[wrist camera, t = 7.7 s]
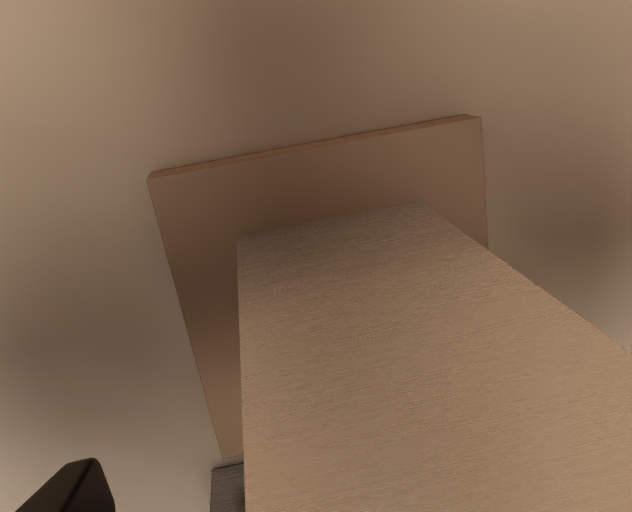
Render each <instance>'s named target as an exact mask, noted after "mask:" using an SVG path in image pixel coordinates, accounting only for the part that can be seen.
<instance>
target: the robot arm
mask: <svg viewBox="0 0 632 512" xmlns="http://www.w3.org/2000/svg"><path fill="white" fill-rule="evenodd" d="M15 512H116V511H115V503H114V499H113V496H112V494H111V491H110V488H109V486H108V483H107V480H106V478H105V475H104V472H103V470H102V467H101V465H100V463H99V461H98V460H97V459H95V458H87V459H83V460H78V461H74V462H70V463H67V464H66V465H64V466H63V467H62V468H61V469H60V470H59V471H58V472H57V473H56V474H55V475H54V476H52V477H51V478H50V479H49V480H48V481H47V482H46V483H45V484H44V485H43V486H42V487H41V488H40V489H39V490H38V491H37V492H35V493H34V494H33V495H32V496H31V497H30V498H29V499H28V500H27V501H26V502H25V503H24V504H23V505H22V506H21V507H20V508H18V509H17V510H16V511H15Z"/></svg>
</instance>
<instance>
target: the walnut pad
mask: <svg viewBox="0 0 632 512" xmlns="http://www.w3.org/2000/svg"><path fill="white" fill-rule="evenodd" d="M146 181H147V185H148V188H149V192H150V196H151V199H152V203H153V207H154V210H155V214H156V217H157V221H158V225H159V228H160V232H161V236H162V239H163V243H164V247H165V250H166V254H167V258H168V261H169V265H170V268H171V272H172V276H173V279H174V283H175V287H176V290H177V294H178V298H179V301H180V305H181V309H182V312H183V316H184V320H185V323H186V327H187V330H188V334H189V338H190V341H191V345H192V349H193V352H194V356H195V360H196V363H197V367H198V371H199V374H200V378H201V381H202V385H203V389H204V392H205V396H206V400H207V403H208V407H209V411H210V414H211V418H212V422H213V425H214V429H215V433H216V436H217V440H218V443H219V447H220V451H221V454H222V458H223V459H226V458H231V457H235V456H239V455H243V454H244V452H243V422H242V392H241V362H240V332H239V302H238V271H237V241H236V238H237V237H242V236H247V235H252V234H257V233H262V232H267V231H271V230H276V229H281V228H286V227H291V226H296V225H301V224H305V223H310V222H315V221H320V220H325V219H330V218H335V217H340V216H344V215H349V214H354V213H359V212H364V211H369V210H374V209H379V208H383V207H388V206H393V205H398V204H403V203H408V202H413V201H418V200H419V201H420V202H421V203H423V204H424V205H426V206H427V207H428V208H430V209H431V210H433V211H434V212H435V213H437V214H438V215H440V216H441V217H442V218H444V219H445V220H447V221H448V222H449V223H451V224H452V225H454V226H455V227H456V228H458V229H459V230H461V231H462V232H463V233H465V234H466V235H468V236H469V237H470V238H472V239H473V240H475V241H476V242H477V243H479V244H480V245H482V246H483V247H484V248H486V249H487V250H488V242H487V222H486V203H485V184H484V164H483V145H482V125H481V117H477V116H472V115H467V114H464V115H459V116H453V117H448V118H442V119H437V120H432V121H426V122H421V123H415V124H410V125H405V126H399V127H394V128H388V129H383V130H378V131H372V132H367V133H361V134H356V135H351V136H345V137H340V138H335V139H329V140H324V141H318V142H313V143H308V144H302V145H297V146H291V147H286V148H281V149H275V150H270V151H264V152H259V153H254V154H248V155H243V156H237V157H232V158H227V159H221V160H216V161H210V162H205V163H200V164H194V165H189V166H183V167H178V168H173V169H167V170H162V171H156V172H152V173H151V174H150V175H149V177H148V178H147V179H146Z"/></svg>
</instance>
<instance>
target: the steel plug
mask: <svg viewBox="0 0 632 512" xmlns="http://www.w3.org/2000/svg"><path fill="white" fill-rule="evenodd" d="M236 241H237V271H238V302H239V332H240V362H241V392H242V422H243V452H244V482H245V512H632V353H631V352H630V351H628V350H627V349H626V348H624V347H623V346H621V345H620V344H619V343H617V342H616V341H614V340H613V339H612V338H610V337H609V336H607V335H606V334H605V333H603V332H602V331H600V330H599V329H598V328H596V327H595V326H593V325H592V324H591V323H589V322H588V321H586V320H585V319H584V318H582V317H581V316H579V315H578V314H577V313H575V312H574V311H572V310H571V309H570V308H568V307H567V306H565V305H564V304H563V303H561V302H560V301H558V300H557V299H556V298H554V297H553V296H551V295H550V294H549V293H547V292H546V291H544V290H543V289H542V288H540V287H539V286H537V285H536V284H535V283H533V282H532V281H530V280H529V279H528V278H526V277H525V276H523V275H522V274H521V273H519V272H518V271H516V270H515V269H514V268H512V267H511V266H510V265H508V264H507V263H505V262H504V261H503V260H501V259H500V258H498V257H497V256H496V255H494V254H493V253H491V252H490V251H489V250H487V249H486V248H484V247H483V246H482V245H480V244H479V243H477V242H476V241H475V240H473V239H472V238H470V237H469V236H468V235H466V234H465V233H463V232H462V231H461V230H459V229H458V228H456V227H455V226H454V225H452V224H451V223H449V222H448V221H447V220H445V219H444V218H442V217H441V216H440V215H438V214H437V213H435V212H434V211H433V210H431V209H430V208H428V207H427V206H426V205H424V204H423V203H421V202H420V201H419V200H418V201H413V202H408V203H403V204H398V205H393V206H388V207H383V208H379V209H374V210H369V211H364V212H359V213H354V214H349V215H344V216H340V217H335V218H330V219H325V220H320V221H315V222H310V223H305V224H301V225H296V226H291V227H286V228H281V229H276V230H271V231H267V232H262V233H257V234H252V235H247V236H242V237H237V238H236Z"/></svg>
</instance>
